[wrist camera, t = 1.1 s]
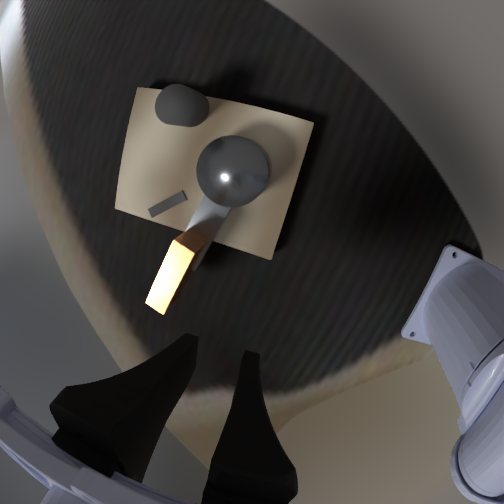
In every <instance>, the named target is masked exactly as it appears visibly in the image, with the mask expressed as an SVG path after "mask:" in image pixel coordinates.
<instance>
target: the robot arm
mask: <svg viewBox="0 0 504 504" xmlns="http://www.w3.org/2000/svg"><path fill="white" fill-rule="evenodd" d="M454 252H456V254H455V256H453V257H452V255H453V253H454ZM412 332H414V333H413V334H411V333H412ZM401 334H402V336H403V337H404V338H407V339H411V340H415V341H419V342H422V343H426V344H430V345H432V346H433V348H434V350H435V353H436V354H437V357H438V359H439V361H440V363H441V365H442V367H443V369H444V372H445V374H446V376H447V378H448V381H449V383H450V385H451V388H452V390H453V392H454V395H455V397H456V400H457V402H458V405H459V407H460V409H461V415H460V417H459V419H458V420H457V423H458V426H459V429H460V432H461V436H460V437H459V439H458V440H457V442H456V443H455V445H454V447H453V450H452V453H451V459H450V469H451V474H452V477H453V481H454V483H455V485H456V487H457V488H458V489H459V491H460V492H461V493H462V494H463V495H464V496H465V497H466V498H468V499H469V500H471V501H473V502H476V503H478V504H504V271H502V270H500V269H499V268H497V267H495V266H493V265H491V264H489V263H487V262H485V261H483V260H481V259H479V258H477V257H475V256H473V255H471V254H469V253H467V252H465V251H463V250H461V249H459V248H457V247H455V246H453V245H446V246H445V247H444V249H443V251H442V254H441V256H440V258H439V260H438V262H437V264H436V267H435V269H434V271H433V273H432V275H431V277H430V279H429V281H428V283H427V285H426V287H425V289H424V291H423V293H422V295H421V296H420V298H419V300H418V302H417V304H416V306H415V308H414V309H413V311H412V313H411V315H410V316H409V318H408V320H407V322H406V323H405V325H404V327H403V328H402V330H401ZM197 345H198V337H197V336H194V335H191V334H188V333H185V334H184V335H182V336H181V337H180V338H178V339H177V340H176V341H175V342H173V343H172V344H171V345H169V346H168V347H167V348H165V349H164V350H162V351H161V352H159V353H158V354H156V355H155V356H153V357H151V358H150V359H148V360H146V361H145V362H143V363H141V364H139V365H138V366H136V367H134V368H132V369H129V370H127V371H125V372H123V373H120V374H118V375H115V376H113V377H110V378H107V379H103V380H99V381H96V382H91V383H87V384H81V385H74V386H66V387H65V388H64V389H63V390H62V391H61V392H60V394H58V396H57V397H56V398H55V399H54V400H53V402H52V403H51V404H50V411H51V413H52V415H53V417H54V419H55V421H56V423H57V424H58V426H59V429H58V430H57V432H56V433H55V434H54V435H53V434H52V433H51V432H49V431H48V430H47V429H45V428H44V427H42V426H41V425H40V424H38V423H37V422H36V421H34V420H33V419H32V418H31V417H29V416H28V415H27V414H26V413H24V412H23V411H22V410H21V409H20V408H18V407H17V406H16V404H15V402H14V400H13V399H12V397H11V396H10V395H9V394H8V393H7V392H6V391H5V390H4V389H3V388H2V387H1V386H0V447H1V448H2V449H3V450H5V452H7V453H8V454H9V455H10V456H11V457H12V458H13V459H14V460H15V461H16V462H17V463H18V464H20V465H21V466H22V467H23V468H24V469H25V470H26V471H28V472H29V473H30V474H31V475H32V476H34V477H35V478H36V479H37V480H38V481H40V482H41V483H42V484H44V485H45V486H46V487H47V488H49V489H50V490H49V492H48V493H47V494H46V496H45V497H44V499H43V501H42V502H41V504H196V503H192V502H189V501H186V500H183V499H180V498H177V497H174V496H172V495H169V494H166V493H164V492H160V491H158V490H156V489H153V488H151V487H148V486H146V485H144V484H141V483H142V480H143V478H144V475H145V472H146V469H147V466H148V464H149V461H150V459H151V456H152V454H153V451H154V449H155V446H156V444H157V442H158V439H159V437H160V434H161V432H162V430H163V428H164V426H165V423H166V421H167V419H168V418H169V416H170V414H171V412H172V411H173V409H174V407H175V406H176V404H177V402H178V401H179V399H180V397H181V396H182V394H183V392H184V390H185V389H186V387H187V385H188V383H189V381H190V379H191V376H192V374H193V372H194V369H195V367H196V356H197ZM259 361H260V355H259V354H258V353H255V352H251V351H247V350H245V352H244V355H243V358H242V361H241V365H240V369H239V374H238V378H237V382H236V387H235V391H234V395H233V400H232V405H231V409H230V412H229V415H228V417H227V420H226V423H225V426H224V428H223V431H222V434H221V436H220V439H219V442H218V444H217V447H216V449H215V452H214V455H213V457H212V459H211V464H210V469H209V474H208V479H207V483H206V486H205V488H204V491H203V497H202V503H201V504H288V503H289V502H290V501H291V500H292V499H293V498H294V497H295V496H296V495H297V493H298V481H297V474H296V469H295V467H294V466H293V464H292V463H291V461H290V460H289V458H288V456H287V455H286V453H285V451H284V450H283V448H282V446H281V444H280V442H279V440H278V438H277V436H276V433H275V431H274V429H273V427H272V424H271V421H270V419H269V416H268V413H267V409H266V406H265V402H264V398H263V393H262V387H261V381H260V370H259Z"/></svg>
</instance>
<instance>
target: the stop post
mask: <svg viewBox="0 0 504 504" xmlns="http://www.w3.org/2000/svg"><path fill="white" fill-rule="evenodd" d="M209 108H210V107H209V102H208V99H207V98H206V96H205V95H203V94H202V93H200V92H198V91H196V90H193V89H191V88H189V87H187V86H185V85H182V84H172V85H169V86H167V87H166V88H164V89H163V90H162V91H161V92H160V93H159V95H158V96H157V99H156V102H155V112H156V115H157V117H158V118H159V120H160V121H162V122H163V123H165V124H168V125H176V126H184V127H195V126H198V125H200V124H201V123H202V122H203V121H204V120H205V119H206V118H207V116H208V113H209Z"/></svg>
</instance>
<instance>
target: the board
mask: <svg viewBox="0 0 504 504" xmlns="http://www.w3.org/2000/svg"><path fill="white" fill-rule="evenodd" d="M161 91H162V90H160V89H150V88H139V87H138V88H137V92H136V96H135V100H134V104H133V108H132V112H131V116H130V121H129V125H128V130H127V135H126V140H125V145H124V150H123V156H122V161H121V167H120V174H119V180H118V187H117V195H116V203H115V209H118V210H121V211H124V212H127V213H130V214H133V215H136V216H139V217H142V218H145V219H148V220H151V221H154V222H157V223H160V224H163V225H166V226H169V227H172V228H175V229H178V230H181V231H184V232H185V231H186V229H187V227H188V225H189V223H190V221H191V219H192V217H193V215H194V213H195V211H196V209H197V207H198V205H199V203H200V201H201V200H202V198H203V196H204V193H203V191H202V190H201V188H200V186H199V184H198V181H197V175H196V167H197V162H198V158H199V156H200V154H201V152H202V151H203V149H204V148H205V147H206V146H207V145H208V144H209V143H210V142H212V141H213V140H215V139H217V138H219V137H222V136H228V135H236V136H241V137H247V138H250V139H252V140H254V141H256V142H258V143H259V144H260V145H261V146H262V147H263V148H264V149H265V150H266V152H267V153H268V155H269V158H270V161H271V166H272V173H271V178H270V181H269V183H268V185H267V187H266V188H265V190H264V191H263V192H262V193H261V194H260V195H259V196H258V197H257V198H256V199H255V200H253V201H252V202H250V203H249V204H246V205H244V206H241V207H233V208H232V210H231V211H230V213H229V215H228V217H227V218H226V220H225V222H224V224H223V225H222V227H221V229H220V231H219V232H218V234H217V236H216V238H215V239H214V241H215V242H218V243H221V244H224V245H227V246H230V247H233V248H236V249H239V250H242V251H245V252H248V253H251V254H254V255H257V256H260V257H263V258H266V259H269V260H271V259H272V256H273V253H274V250H275V247H276V244H277V240H278V237H279V234H280V231H281V228H282V225H283V222H284V219H285V216H286V212H287V209H288V206H289V203H290V200H291V197H292V194H293V190H294V187H295V184H296V181H297V178H298V174H299V171H300V168H301V165H302V161H303V158H304V155H305V152H306V148H307V145H308V142H309V138H310V135H311V132H312V128H313V125H314V123H313V122H310V121H307V120H304V119H300V118H297V117H293V116H290V115H286V114H283V113H279V112H275V111H272V110H268V109H264V108H260V107H256V106H251V105H247V104H243V103H238V102H233V101H229V100H224V99H219V98H213V97H208V96H206V98H207V99H208V102H209V107H210V108H209V113H208V116H207V118H206V119H205V120H204V121H203V122H202V123H201V124H200V125H198V126H195V127H184V126H176V125H168V124H165V123H163V122H162V121H160V120H159V118H158V117H157V115H156V112H155V102H156V99H157V96H158V95H159V93H160V92H161Z"/></svg>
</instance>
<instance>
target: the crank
mask: <svg viewBox="0 0 504 504" xmlns="http://www.w3.org/2000/svg"><path fill="white" fill-rule="evenodd" d="M271 173H272V166H271V161H270V158H269V155H268V153H267V152H266V150H265V149H264V148H263V147H262V146H261V145H260V144H259V143H258V142H256V141H254V140H252V139H250V138H247V137H241V136H236V135H228V136H222V137H219V138H217V139H215V140H213V141H212V142H210V143H209V144H208V145H207V146H206V147H205V148H204V149H203V151H202V152H201V154H200V156H199V158H198V162H197V167H196V175H197V181H198V184H199V186H200V188H201V190H202V191H203V193H204V196H203V198H202V200H201V201H200V203H199V205H198V207H197V209H196V211H195V213H194V215H193V217H192V219H191V221H190V223H189V225H188V227H187V229H186V231H185V232H184V233H182V234H181V235H180V236H178V237H177V238H175V239H174V240H173V242H172V244H171V246H170V249H169V251H168V253H167V255H166V257H165V259H164V262H163V264H162V266H161V268H160V270H159V273H158V275H157V277H156V279H155V282H154V284H153V286H152V289H151V291H150V293H149V296H148V298H147V300H146V303H147V304H148V305H150V306H151V307H152V308H154V309H155V310H157V311H158V312H160V313H161V314H163V315H164V314H165V312H166V311H167V310H168V309H169V308H170V306H171V305H172V304H173V303H174V302H175V300H176V299H177V298H178V297H179V295H180V293H181V291H182V289H183V287H184V285H185V283H186V282H187V280H188V278H189V276H190V274H191V272H192V270H194V271H196V270H197V269H198V268H199V266H200V265H201V263H202V261H203V259H204V257H205V255H206V254H207V252H208V250H209V248H210V246H211V245H212V243H213V241H214V239H215V238H216V236H217V234H218V232H219V231H220V229H221V227H222V225H223V224H224V222H225V220H226V218H227V217H228V215H229V213H230V211H231V210H232V208H233V207H241V206H244V205H246V204H249V203H250V202H252V201H253V200H255V199H256V198H257V197H258V196H259V195H260V194H261V193H262V192H263V191H264V190H265V188H266V187H267V185H268V183H269V181H270V178H271Z"/></svg>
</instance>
